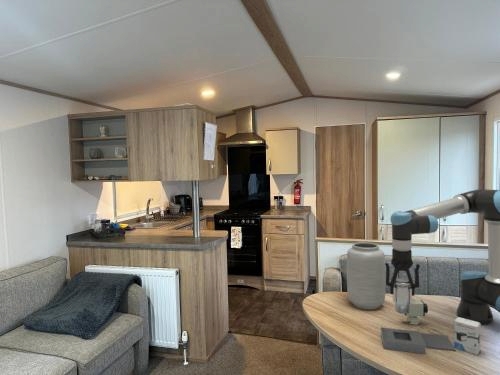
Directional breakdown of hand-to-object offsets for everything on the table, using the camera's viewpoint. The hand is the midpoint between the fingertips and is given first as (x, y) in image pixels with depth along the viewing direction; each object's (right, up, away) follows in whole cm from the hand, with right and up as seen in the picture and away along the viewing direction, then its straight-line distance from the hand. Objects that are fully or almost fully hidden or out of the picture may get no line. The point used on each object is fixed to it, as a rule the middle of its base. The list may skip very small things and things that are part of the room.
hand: (402, 302), depth 142 cm
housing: (0, -18, +1) cm, 18 cm away
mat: (+15, -18, +2) cm, 24 cm away
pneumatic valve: (+14, -17, +20) cm, 30 cm away
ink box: (+25, -18, -4) cm, 31 cm away
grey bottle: (0, -4, 0) cm, 4 cm away
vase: (0, -16, +43) cm, 46 cm away
